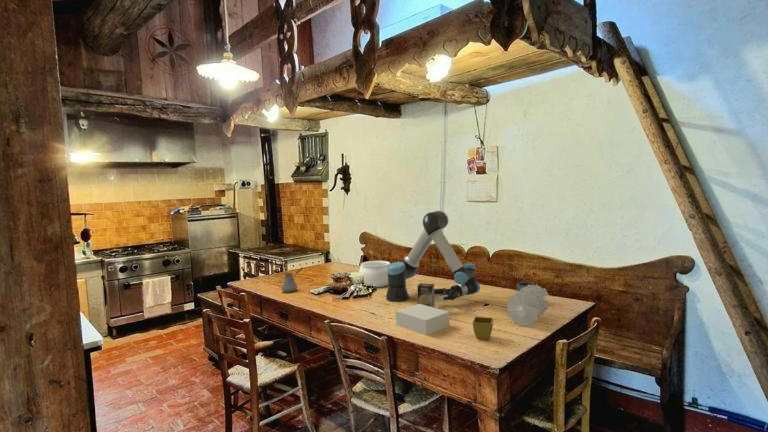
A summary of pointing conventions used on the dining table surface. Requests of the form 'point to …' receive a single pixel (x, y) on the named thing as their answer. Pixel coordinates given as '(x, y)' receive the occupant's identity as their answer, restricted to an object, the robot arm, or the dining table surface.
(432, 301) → the coffee box
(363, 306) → the dining table surface
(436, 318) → the painted box
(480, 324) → the flower pot
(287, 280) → the coffee pot
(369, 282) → the pot
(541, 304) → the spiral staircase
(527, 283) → the drinking glass
